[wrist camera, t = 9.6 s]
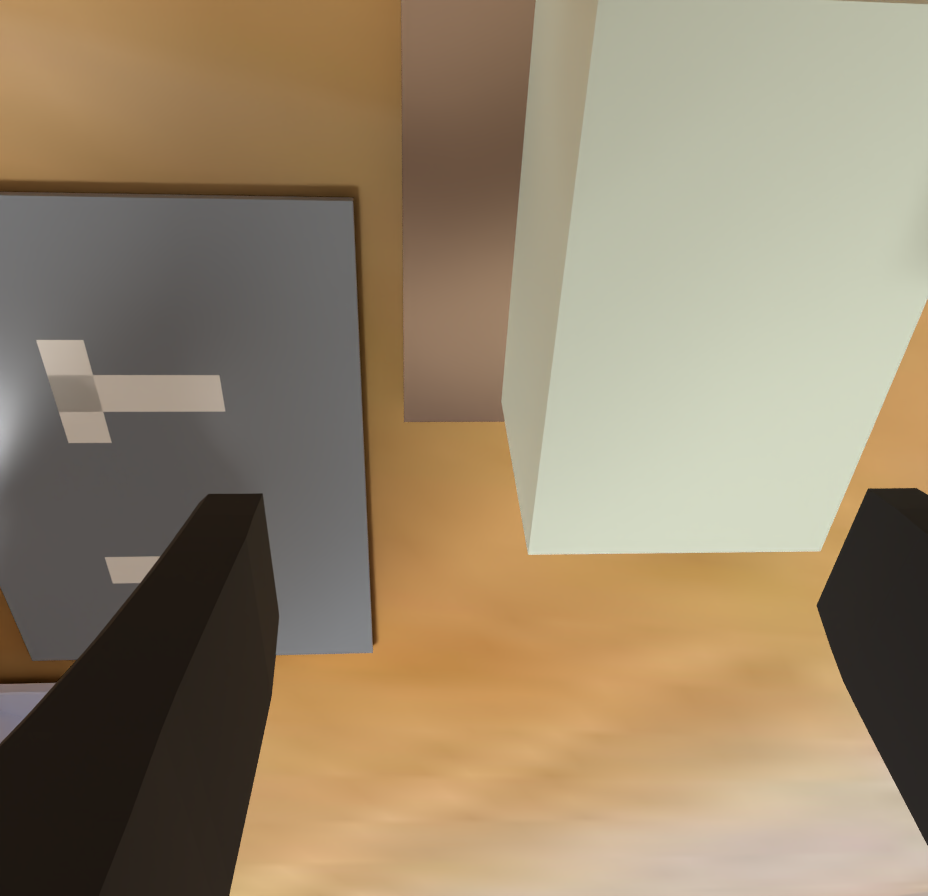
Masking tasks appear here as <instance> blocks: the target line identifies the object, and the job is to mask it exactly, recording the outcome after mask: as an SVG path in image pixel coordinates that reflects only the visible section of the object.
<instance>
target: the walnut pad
mask: <svg viewBox="0 0 928 896" xmlns="http://www.w3.org/2000/svg"><path fill="white" fill-rule="evenodd" d="M535 3H536V0H401V38H402V185H403V332H404V422H505V420H504V414H503V408H502V403H501V400H502V388H503V377H504V365H505V353H506V341H507V330H508V318H509V306H510V295H511V283H512V271H513V260H514V248H515V236H516V225H517V213H518V201H519V190H520V178H521V166H522V154H523V143H524V131H525V119H526V108H527V96H528V84H529V73H530V61H531V49H532V38H533V26H534V14H535Z"/></svg>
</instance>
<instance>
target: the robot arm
mask: <svg viewBox="0 0 928 896" xmlns="http://www.w3.org/2000/svg"><path fill="white" fill-rule="evenodd" d="M817 608H818V611H819V614H820V617H821V620H822V623H823V626H824V629H825V632H826V635H827V638H828V641H829V644H830V647H831V650H832V653H833V655H834V658H835V661H836V663H837V666H838V669H839V671H840V674H841V677H842V679H843V682H844V684H845V686H846V688H847V690H848V692H849V694H850V696H851V698H852V700H853V702H854V704H855V706H856V708H857V710H858V712H859V714H860V716H861V718H862V720H863V722H864V724H865V726H866V728H867V730H868V732H869V734H870V736H871V738H872V740H873V741H874V743H875V745H876V747H877V749H878V751H879V753H880V755H881V757H882V759H883V761H884V763H885V765H886V766H887V768H888V770H889V772H890V774H891V776H892V778H893V780H894V782H895V784H896V786H897V788H898V789H899V791H900V793H901V795H902V797H903V799H904V801H905V803H906V805H907V807H908V809H909V811H910V813H911V814H912V816H913V818H914V820H915V822H916V824H917V826H918V828H919V830H920V832H921V834H922V836H923V838H924V839H925V841H926V843H927V845H928V495H927V494H925V493H924V492H922V491H920V490H918V489H917V488H892V489H868V490H867V492H866V495H865V497H864V499H863V501H862V504H861V506H860V508H859V510H858V513H857V515H856V517H855V520H854V522H853V524H852V526H851V529H850V531H849V533H848V535H847V538H846V540H845V542H844V544H843V547H842V549H841V551H840V554H839V556H838V558H837V560H836V563H835V565H834V567H833V569H832V572H831V574H830V576H829V579H828V581H827V583H826V585H825V588H824V590H823V592H822V594H821V597H820V599H819V601H818V603H817ZM278 625H279V610H278V602H277V595H276V587H275V580H274V573H273V565H272V558H271V551H270V543H269V536H268V529H267V521H266V514H265V507H264V499H263V493H255V494H208V495H207V496H206V497H204V498H203V499H202V500H201V501H200V502H199V503H198V505H197V506H196V508H195V509H194V511H193V512H192V513H191V515H190V516H189V518H188V519H187V520H186V522H185V523H184V525H183V526H182V527H181V529H180V530H179V532H178V533H177V534H176V536H175V537H174V539H173V540H172V541H171V543H170V544H169V545H168V547H167V548H166V549H165V551H164V552H163V554H162V555H161V556H160V558H159V559H158V560H157V561H156V563H155V564H154V565H153V567H152V568H151V569H150V571H149V572H148V573H147V575H146V576H145V577H144V579H143V580H142V581H141V583H140V584H139V585H138V586H137V588H136V589H135V590H134V591H133V593H132V594H131V595H130V596H129V597H128V599H127V600H126V601H125V602H124V604H123V605H122V606H121V607H120V609H119V610H118V611H117V612H116V614H115V615H114V616H113V617H112V619H111V620H110V621H109V622H108V623H107V625H106V626H105V627H104V628H103V630H102V631H101V632H100V633H99V635H98V636H97V637H96V638H95V639H94V641H93V642H92V643H91V644H90V645H89V646H88V648H87V649H86V650H85V651H84V652H83V653H82V654H81V656H80V657H79V658H78V659H77V660H76V661H75V662H74V663H73V665H72V666H71V667H70V668H69V669H68V670H67V671H66V672H65V674H64V675H63V676H62V677H61V678H60V679H59V680H58V681H57V682H56V683H24V684H0V896H229V894H230V888H231V884H232V879H233V874H234V870H235V865H236V861H237V856H238V851H239V847H240V842H241V837H242V833H243V828H244V823H245V819H246V814H247V810H248V805H249V800H250V796H251V791H252V786H253V782H254V777H255V772H256V768H257V763H258V759H259V754H260V749H261V744H262V740H263V735H264V730H265V725H266V721H267V716H268V711H269V706H270V701H271V696H272V687H273V677H274V668H275V658H276V647H277V636H278Z"/></svg>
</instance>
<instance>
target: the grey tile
mask: <svg viewBox="0 0 928 896" xmlns="http://www.w3.org/2000/svg"><path fill="white" fill-rule="evenodd" d="M255 493H263V499H264V507H265V514H266V521H267V529H268V536H269V543H270V551H271V558H272V565H273V573H274V580H275V587H276V595H277V602H278V610H279V625H278V636H277V647H276V655H301V654H344V653H373V637H372V614H371V591H370V568H369V546H368V523H367V500H366V477H365V454H364V432H363V409H362V386H361V363H360V340H359V318H358V295H357V272H356V249H355V226H354V203H353V198H351V197H290V196H229V195H169V194H108V193H48V192H0V587H1V590H2V592H3V594H4V597H5V599H6V601H7V603H8V606H9V608H10V610H11V613H12V615H13V617H14V620H15V622H16V624H17V626H18V629H19V631H20V633H21V636H22V638H23V640H24V642H25V645H26V647H27V649H28V652H29V654H30V656H31V659H32V661H45V660H77V659H78V658H79V657H80V656H81V654H82V653H83V652H84V651H85V650H86V649H87V648H88V646H89V645H90V644H91V643H92V642H93V641H94V639H95V638H96V637H97V636H98V635H99V633H100V632H101V631H102V630H103V628H104V627H105V626H106V625H107V623H108V622H109V621H110V620H111V619H112V617H113V616H114V615H115V614H116V612H117V611H118V610H119V609H120V607H121V606H122V605H123V604H124V602H125V601H126V600H127V599H128V597H129V596H130V595H131V594H132V593H133V591H134V590H135V589H136V588H137V586H138V585H139V584H140V583H141V581H142V580H143V579H144V577H145V576H146V575H147V573H148V572H149V571H150V569H151V568H152V567H153V565H154V564H155V563H156V561H157V560H158V559H159V558H160V556H161V555H162V554H163V552H164V551H165V549H166V548H167V547H168V545H169V544H170V543H171V541H172V540H173V539H174V537H175V536H176V534H177V533H178V532H179V530H180V529H181V527H182V526H183V525H184V523H185V522H186V520H187V519H188V518H189V516H190V515H191V513H192V512H193V511H194V509H195V508H196V506H197V505H198V503H199V502H200V501H201V500H202V499H203V498H204V497H206V496H207V495H208V494H255Z"/></svg>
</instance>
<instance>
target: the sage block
mask: <svg viewBox="0 0 928 896" xmlns="http://www.w3.org/2000/svg"><path fill="white" fill-rule="evenodd" d="M927 299H928V0H536V3H535V14H534V26H533V38H532V49H531V61H530V73H529V84H528V96H527V108H526V119H525V131H524V143H523V154H522V166H521V178H520V190H519V201H518V213H517V225H516V236H515V248H514V260H513V271H512V283H511V295H510V306H509V318H508V330H507V341H506V353H505V365H504V377H503V388H502V400H501V403H502V408H503V414H504V420H505V425H506V431H507V437H508V442H509V448H510V454H511V460H512V465H513V471H514V477H515V482H516V488H517V494H518V500H519V505H520V511H521V517H522V522H523V528H524V534H525V539H526V545H527V551H528V555H534V554H622V553H710V552H799V551H821V549H822V546H823V544H824V541H825V539H826V537H827V534H828V532H829V530H830V527H831V525H832V523H833V520H834V518H835V516H836V513H837V511H838V508H839V506H840V504H841V501H842V499H843V497H844V494H845V492H846V490H847V487H848V485H849V483H850V480H851V478H852V475H853V473H854V471H855V468H856V466H857V464H858V461H859V459H860V457H861V454H862V452H863V450H864V447H865V445H866V442H867V440H868V438H869V435H870V433H871V431H872V428H873V426H874V424H875V421H876V419H877V417H878V414H879V412H880V409H881V407H882V405H883V402H884V400H885V398H886V395H887V393H888V391H889V388H890V386H891V384H892V381H893V379H894V376H895V374H896V372H897V369H898V367H899V365H900V362H901V360H902V358H903V355H904V353H905V351H906V348H907V346H908V343H909V341H910V339H911V336H912V334H913V332H914V329H915V327H916V325H917V322H918V320H919V318H920V315H921V313H922V310H923V308H924V306H925V303H926V301H927Z"/></svg>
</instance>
